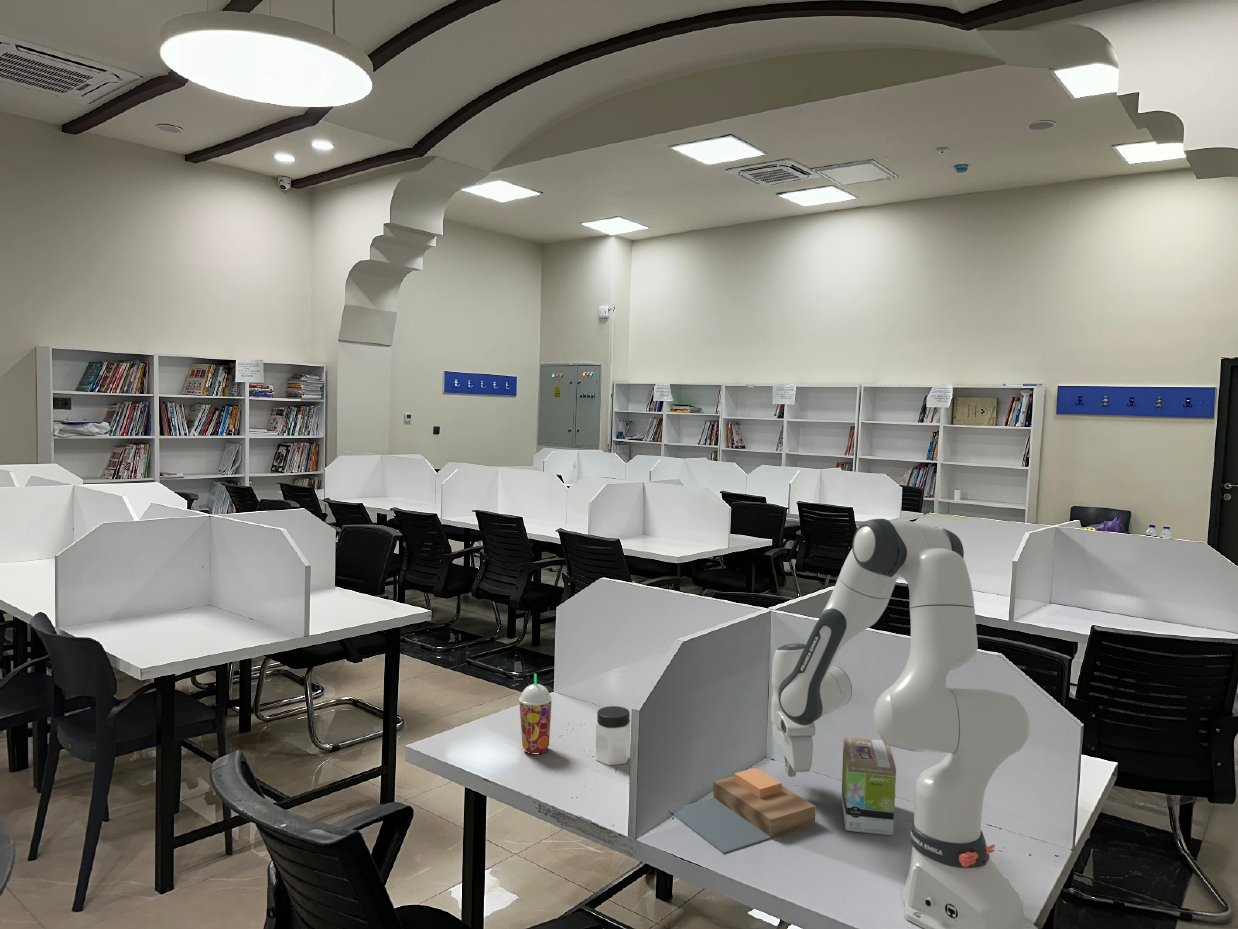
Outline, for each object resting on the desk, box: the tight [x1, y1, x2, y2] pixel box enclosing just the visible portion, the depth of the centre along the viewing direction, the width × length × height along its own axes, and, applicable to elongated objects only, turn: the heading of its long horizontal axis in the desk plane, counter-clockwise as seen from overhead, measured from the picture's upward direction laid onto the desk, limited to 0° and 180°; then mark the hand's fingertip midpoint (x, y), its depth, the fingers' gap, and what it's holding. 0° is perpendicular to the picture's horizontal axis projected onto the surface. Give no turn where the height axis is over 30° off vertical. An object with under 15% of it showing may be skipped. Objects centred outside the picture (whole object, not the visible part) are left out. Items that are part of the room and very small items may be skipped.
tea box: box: [841, 736, 897, 836], centre depth 180 cm, size 15×10×15 cm
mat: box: [673, 797, 772, 855], centre depth 177 cm, size 20×12×1 cm, turn 30°
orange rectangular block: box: [733, 767, 783, 798], centre depth 186 cm, size 9×6×2 cm, turn 30°
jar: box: [595, 705, 631, 766], centre depth 210 cm, size 9×8×12 cm
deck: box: [712, 775, 816, 839], centre depth 183 cm, size 20×12×4 cm, turn 30°
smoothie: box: [518, 673, 553, 754], centre depth 215 cm, size 8×8×20 cm
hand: (790, 774), depth 191 cm, fingers closed
